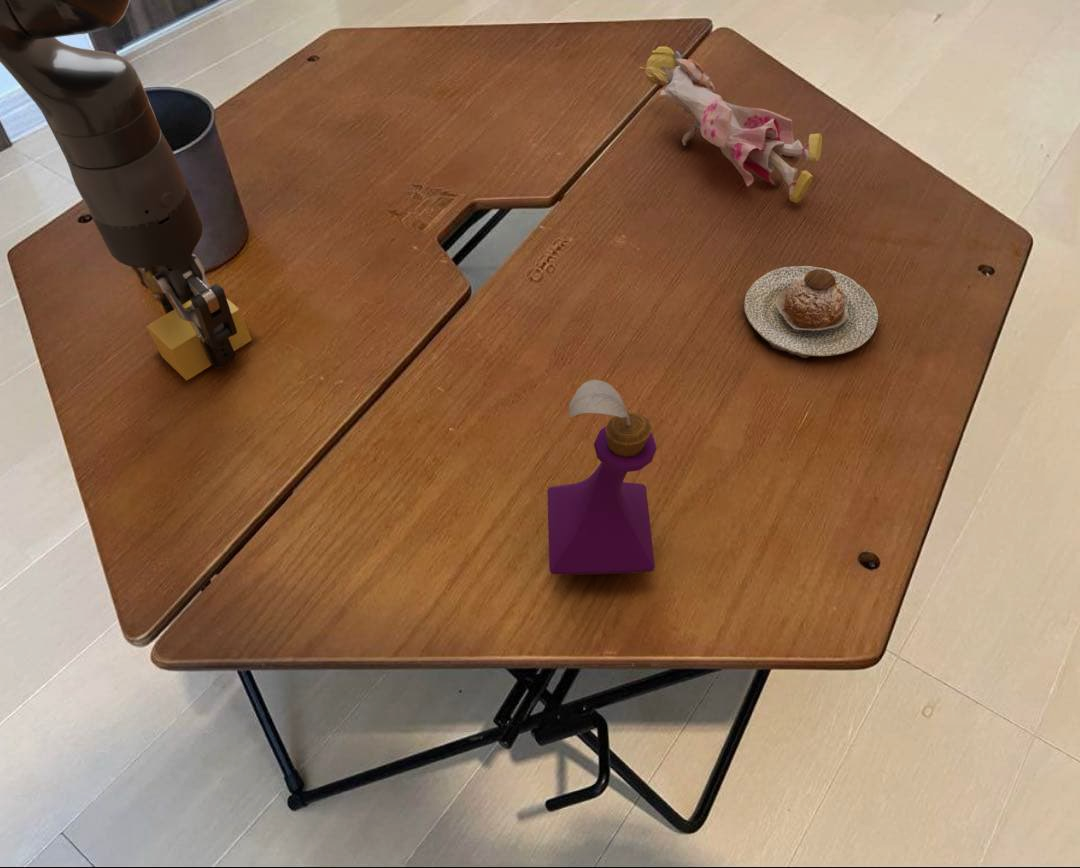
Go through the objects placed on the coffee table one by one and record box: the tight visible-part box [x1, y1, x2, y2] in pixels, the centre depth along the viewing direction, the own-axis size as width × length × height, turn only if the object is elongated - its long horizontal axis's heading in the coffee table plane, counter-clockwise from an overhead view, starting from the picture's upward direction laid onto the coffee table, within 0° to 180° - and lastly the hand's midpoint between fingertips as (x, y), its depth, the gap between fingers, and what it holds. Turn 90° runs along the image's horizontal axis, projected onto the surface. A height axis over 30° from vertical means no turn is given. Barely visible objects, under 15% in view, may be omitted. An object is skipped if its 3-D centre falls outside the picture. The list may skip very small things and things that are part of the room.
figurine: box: [638, 45, 823, 204], centre depth 96 cm, size 12×12×25 cm
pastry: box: [743, 265, 879, 359], centre depth 82 cm, size 12×12×5 cm
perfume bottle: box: [546, 379, 657, 576], centre depth 62 cm, size 8×8×18 cm
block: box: [145, 297, 252, 381], centre depth 82 cm, size 7×4×4 cm, turn 135°
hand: (205, 344), depth 83 cm, fingers open, 5 cm apart
